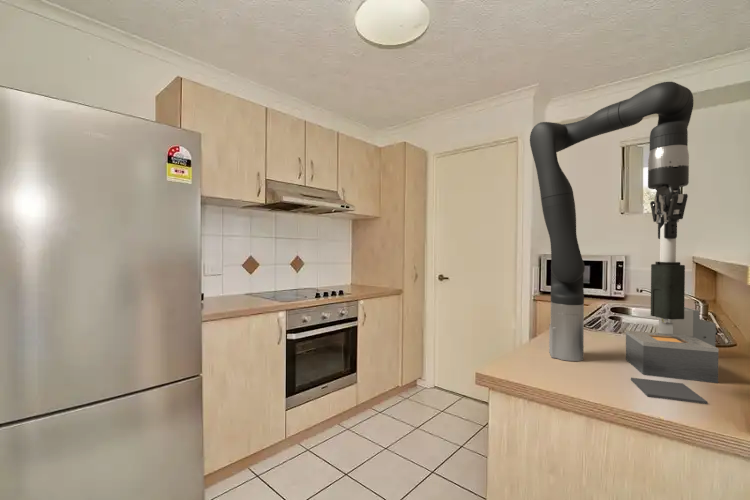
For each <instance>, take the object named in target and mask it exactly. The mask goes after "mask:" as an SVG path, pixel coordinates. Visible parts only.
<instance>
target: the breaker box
mask: <svg viewBox="0 0 750 500" xmlns="http://www.w3.org/2000/svg"><path fill="white" fill-rule="evenodd" d="M653 337H661V338H674V339H677V340H679V341H681V342H670V341H658V340H656V339H655V338H653ZM682 342H683V343H682ZM625 360H626V361H627V362H628V363H629V364H630V365H631V366H632V367H633V368H635V369H636V370H637V371H638V372H639V373H640V374H641V375H644V376H650V377H657V378H670V379H677V380H678V379H679V380H687V381H695V382H696V381H697V382H704V383H705V382H706V383H712V384H713V383H714V384H719V347H716V346H715V347H714V346H712V345H710V344H708V343H706V342H703V341H701V340H699V339H697V338H695V337H693V336H690V335H677V334H664V333H659V332H650V331H649V332H648V331H647V332H645V331H637V330H634V331H633V330H625Z"/></svg>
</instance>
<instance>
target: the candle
mask: <svg viewBox="0 0 750 500" xmlns="http://www.w3.org/2000/svg"><path fill="white" fill-rule="evenodd" d="M659 245H660V246H659V261H655V263H652V264H651V265H650V316H651V317H655V318H656V317H659V318H663V319H684V307H685V300H686V299H685V297H686V296H685V293H686V292H685V287H686V286H685V283H686V281H685V278H686V276H685V275H686V266H685V264H681V262H680V261H677V260H676V259H677V256H676V255H677V238H675V239H665V238H664V225H663V226H662V227H661V228H660V239H659Z"/></svg>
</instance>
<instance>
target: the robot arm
mask: <svg viewBox="0 0 750 500" xmlns="http://www.w3.org/2000/svg"><path fill="white" fill-rule="evenodd" d="M693 109H694V95H693V92H692V90H690V88H688V87H686V86H684V85H681V84H680V83H677V82H674V81H663V82H658V83H655V84H653V85H650V86H649V87H647V88H644V89H643V90H641V91H639V92H638V93H636V94H634V95H633V96H631V97H629V98H626V99H624V100H621V101H618V102H617V101H616V102H614V103H611V104H609V105H607V106H605V107H603V108H600V109H598V110H597V111H595V112H593V113H592V114H590V115H589V116H588V117H586V118H584V119H580V120H577V121H575V122H569V123H562V124H561V123H558V122H550V121H540V122H538V123H537V124H535V125H534V126H533V127H532V129H531V132H530V134H529V146H530V150H531V153H532V154H531V155H532V157H533V162H534V165H535V168H536V169H535V171H536V173H537V174H536V175H537V180H538V181H537V182H538V187H539V191H540V192H539V194H540V201H541V209H542V210H541V211H542V214H543V218H544V222H545V226H546V229H547V232H548V235H549V236H548V237H549V240H550V254H551V255H550V259H551V260H550V261H551V262H550V270H551V271H550V323H549V325H548V326H549V329H548V330H549V331H548V333H549V336H548V337H549V339H548V340H549V341H548V344H549V345H548V347H549V349H548V350H549V351H548V353H549V354H550V356H551V358H552V359H558V360H562V361H569V362H580V361H583V360H584V347H585V346H584V345H585V343H584V337H585V336H584V330H585V329H584V328H585V326H584V323H585V322H584V320H585V319H584V316H585V315H584V313H585V308H584V307H585V294H584V293H585V292H584V273H585V270H586V267H585V262H584V260H583V257H582V253H581V250H580V245H579V243H578V236H577V213H576V201H575V195H574V191H573V190H574V189H573V187H572V184H571V183H570V181H569V179H568V178H567V176H566V175H565V173H564V172H563V170H562V168H561V166H560V163H559V161H558V156H557V155H558V154H557V153H558V152H562V151H563V150H565V149H568V148H571V147H573V146H574V145H576V144H578V143H581V142H585V140H588V139H592V138H594V137H598V136H600V135H605V134H607V133H611V132H615V131H618V130H622V129H624V128H629V127H632V126H635V125H637V124H639V123H640V122H642V120H643V119H644V118H645V117H648V116H651V115H652V116H653V115H657V117H658V120H657V124H656V126H654V127H653V128H652V129H651V130H650V134H649V154H648V160H647V161H648V162H647V188H648V189H649V190H656V193H655V196H654V200H652V201H651V200H650V204H649V205H650V210H651V215H652V219H653V220H652V221H653V223H656V224H657V239H659V240H660V228H661V227H662V226H663V225H664V238H665V239H675V238H676V239H677V237H678V223H680V220H683V218H684V215H685V210H686V207H687V206H686V205H687V202H688V197H689V195H688V194H687V193H682V190H681V188H683V187H687V186H688V185H689V183H690V182H689V181H690V180H689V178H690V177H689V176H690V174H689V173H690V170H689V169H690V165H689V164H690V154H689V153H690V152H689V149H688V142H689V141H688V140H689V139H688V138H689V137H688V134H689V131H688V128H689V125H690V122H691V117H692V114H693Z"/></svg>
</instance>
